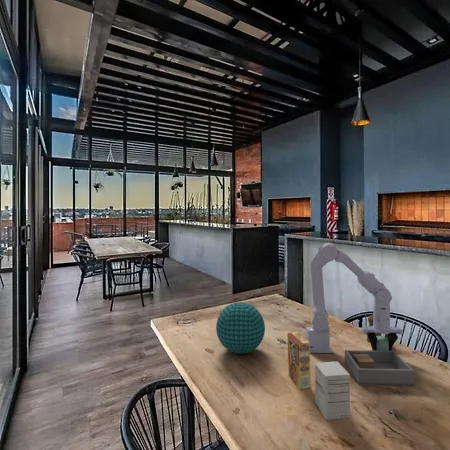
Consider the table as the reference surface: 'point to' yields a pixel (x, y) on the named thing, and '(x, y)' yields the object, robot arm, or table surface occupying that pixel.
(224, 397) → the table surface
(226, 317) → the decorative ball
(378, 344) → the teal cylinder
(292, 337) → the candy box
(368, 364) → the walnut cube
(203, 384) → the table surface
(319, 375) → the supplement box
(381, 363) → the tote
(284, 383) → the table surface
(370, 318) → the cork
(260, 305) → the table surface
